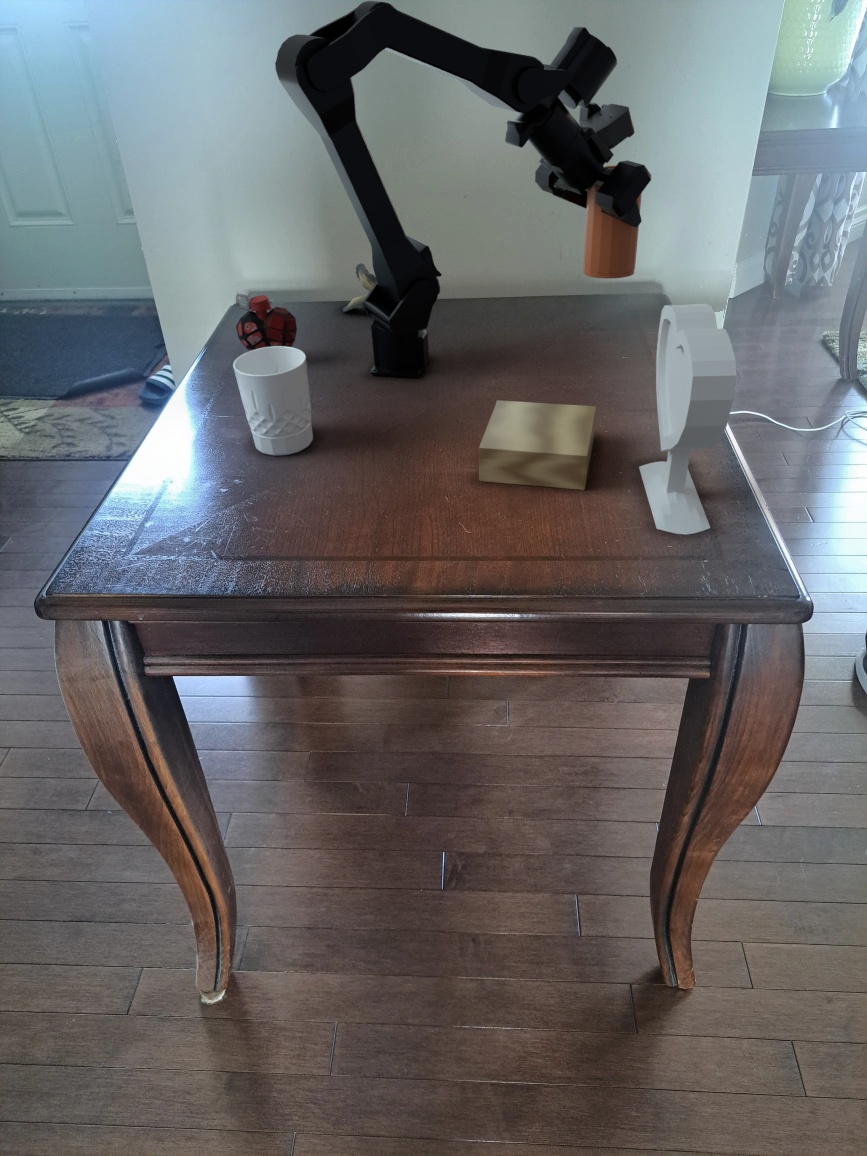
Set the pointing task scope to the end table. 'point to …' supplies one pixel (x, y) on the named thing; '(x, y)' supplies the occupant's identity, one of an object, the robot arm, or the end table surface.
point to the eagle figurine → (367, 282)
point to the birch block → (538, 444)
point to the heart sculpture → (687, 410)
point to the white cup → (276, 398)
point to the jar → (608, 242)
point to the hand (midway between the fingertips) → (621, 218)
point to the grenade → (264, 323)
